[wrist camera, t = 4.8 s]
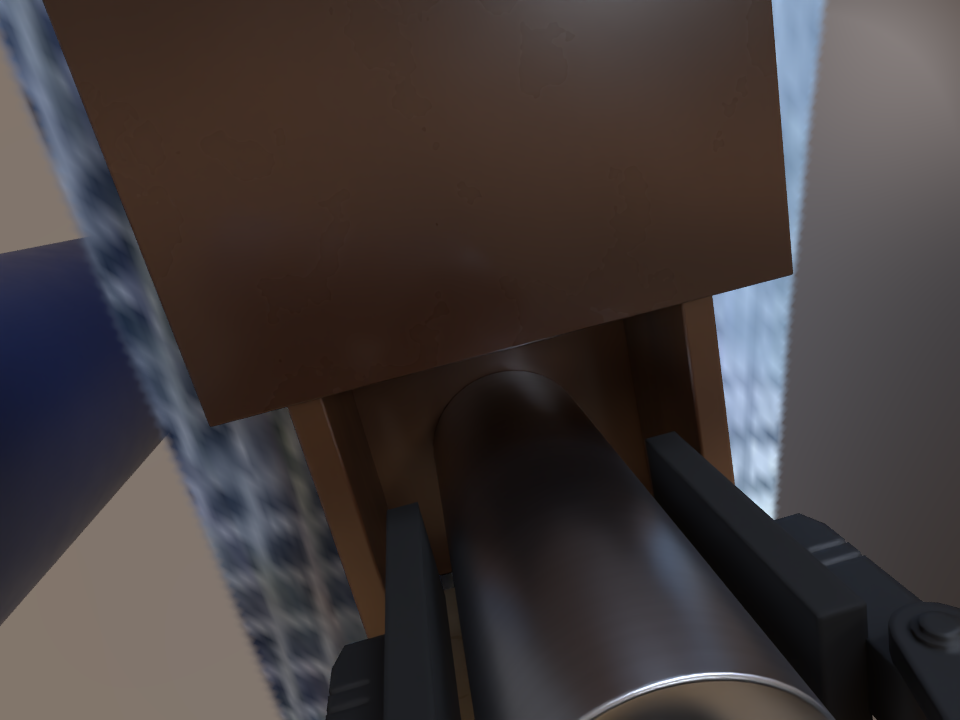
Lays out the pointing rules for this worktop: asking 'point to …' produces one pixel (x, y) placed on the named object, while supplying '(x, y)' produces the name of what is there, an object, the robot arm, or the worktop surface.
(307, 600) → the worktop surface
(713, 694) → the metal bottle
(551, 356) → the drawer
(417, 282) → the cabinet
